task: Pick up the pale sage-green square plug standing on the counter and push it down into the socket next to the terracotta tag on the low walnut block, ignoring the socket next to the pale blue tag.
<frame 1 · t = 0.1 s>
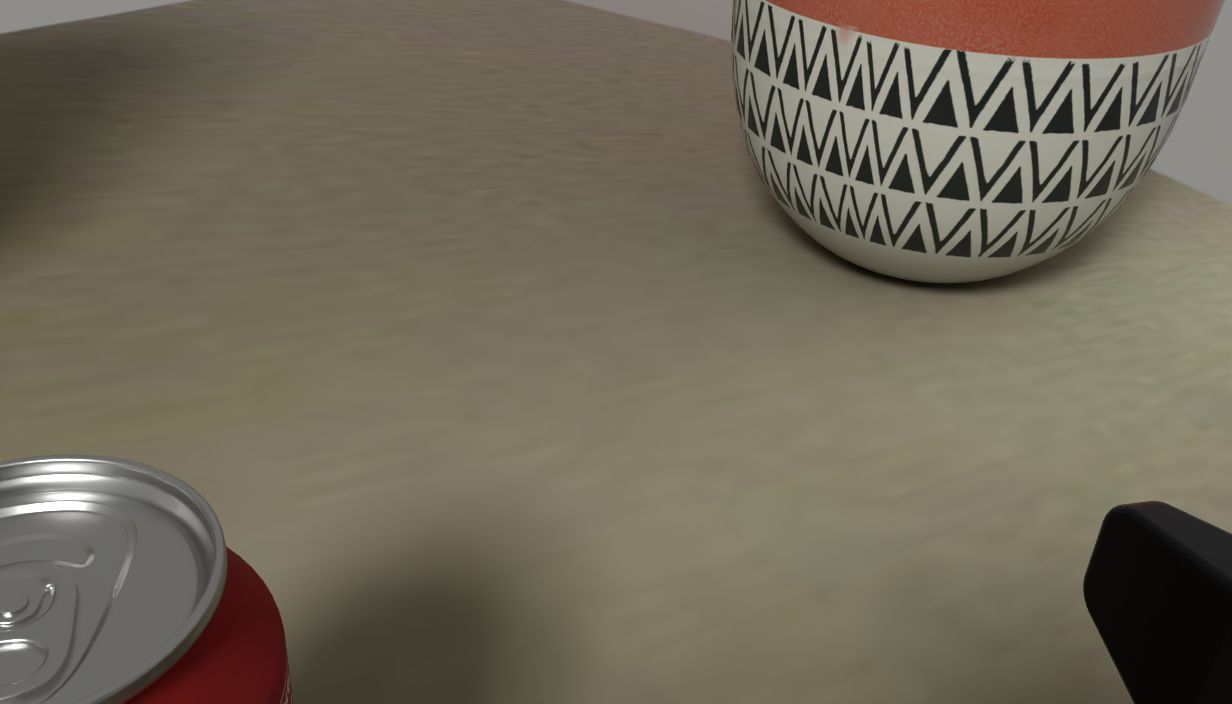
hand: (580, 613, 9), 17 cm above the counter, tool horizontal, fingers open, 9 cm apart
planter: (910, 256, 53), on the counter
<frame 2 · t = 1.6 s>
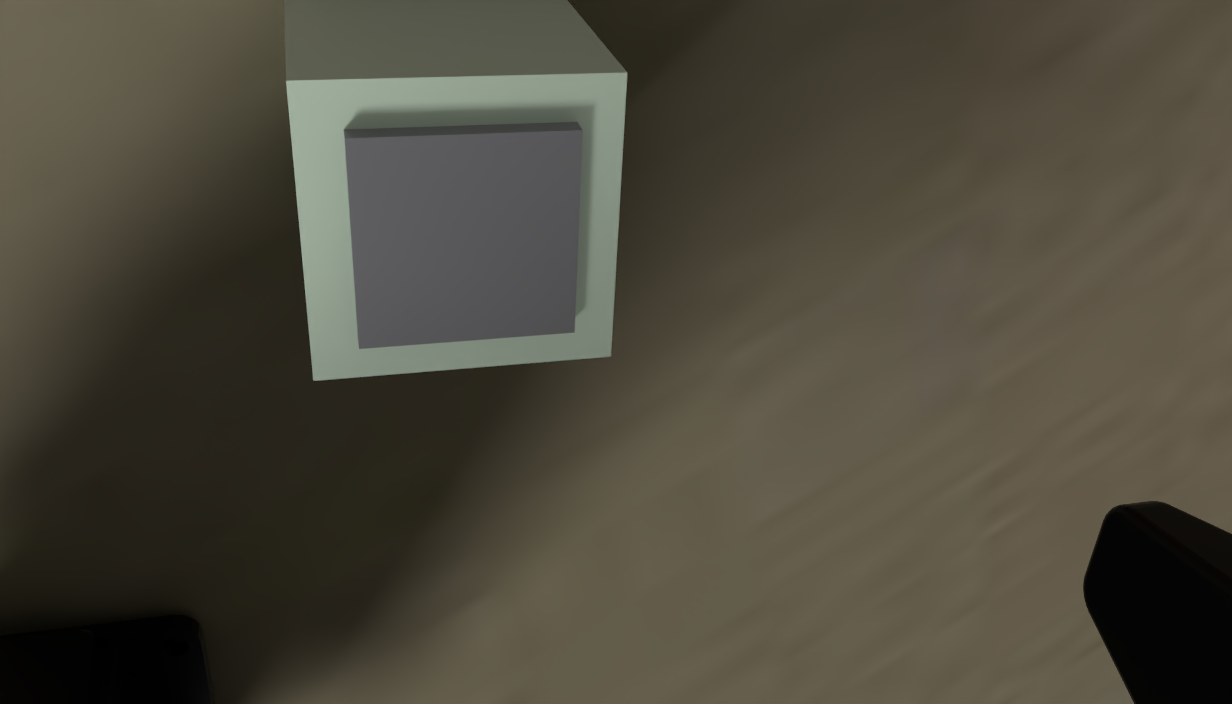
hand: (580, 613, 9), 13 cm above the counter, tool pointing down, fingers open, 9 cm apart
plug: (416, 84, 20), on the counter
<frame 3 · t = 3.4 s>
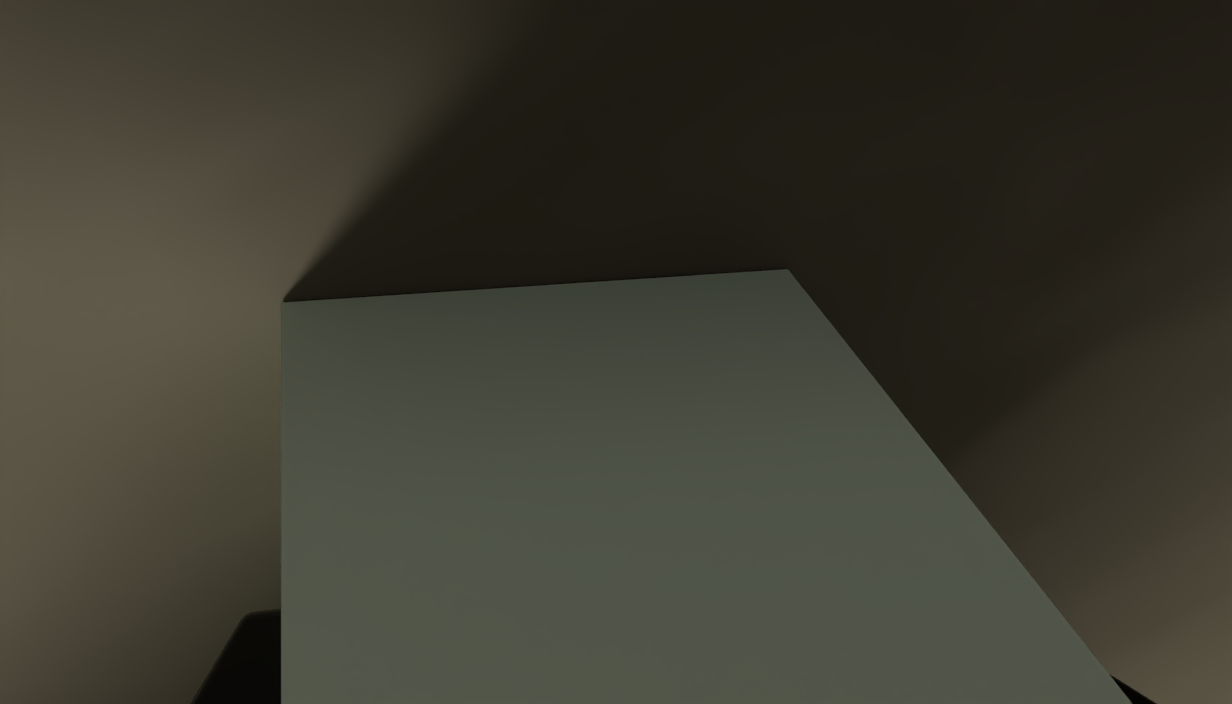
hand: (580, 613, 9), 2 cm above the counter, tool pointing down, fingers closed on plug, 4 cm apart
plug: (542, 490, 10), on the counter, touching gripper
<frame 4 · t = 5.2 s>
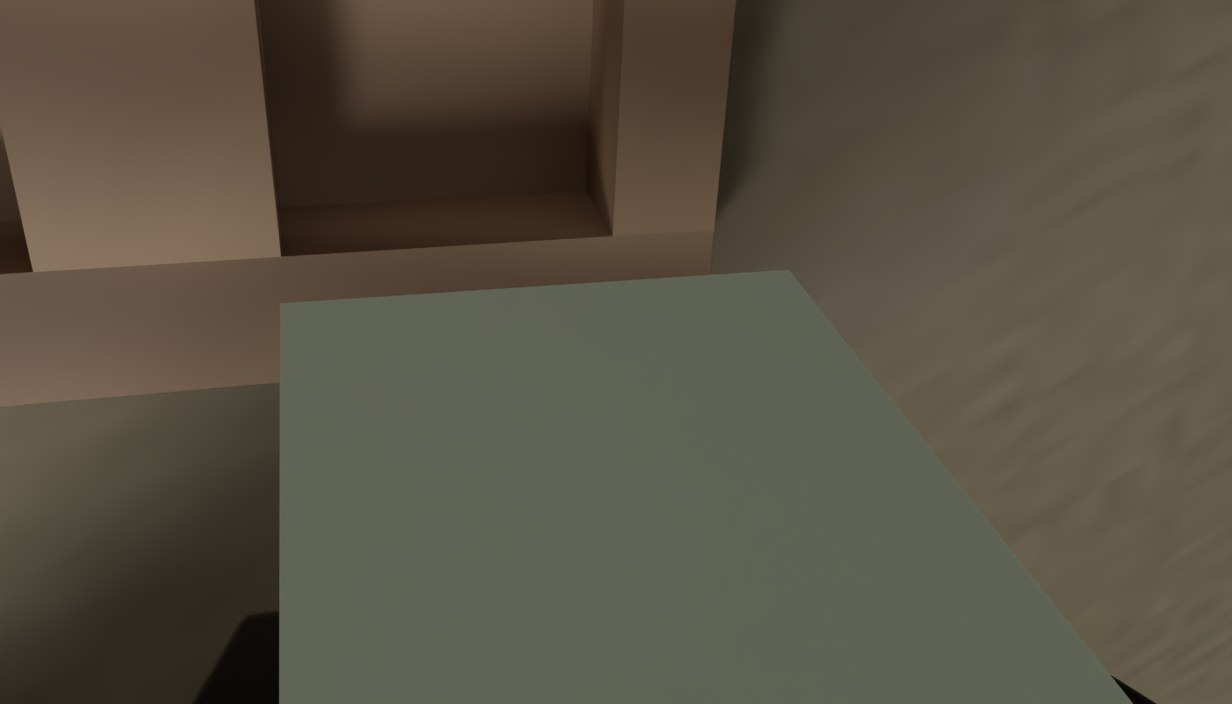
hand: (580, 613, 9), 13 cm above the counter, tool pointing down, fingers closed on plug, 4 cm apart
socket block: (147, 45, 19), on the counter
plug: (542, 491, 10), point 12 cm above the counter, touching gripper
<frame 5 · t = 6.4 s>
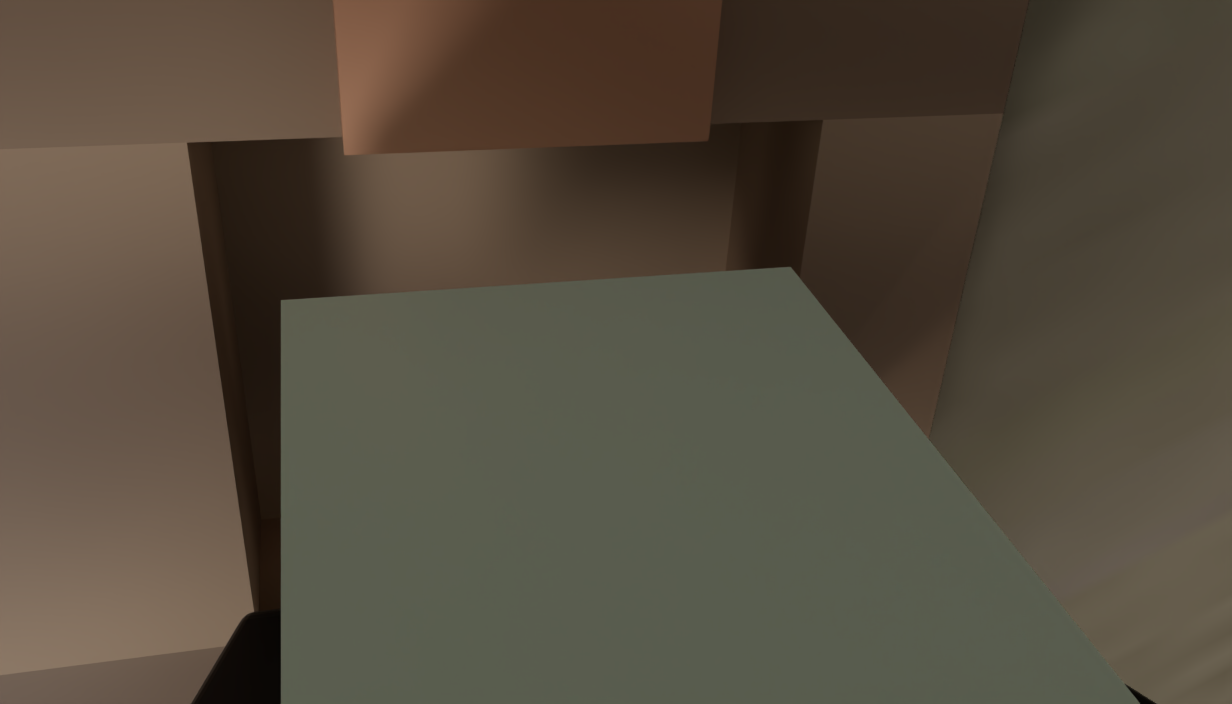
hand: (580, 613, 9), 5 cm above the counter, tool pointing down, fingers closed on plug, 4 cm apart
socket block: (56, 306, 12), on the counter
plug: (543, 488, 10), point 4 cm above the counter, touching gripper
when the fingers open (3 cm above the counter, at t = 7.1 s): plug drops 1 cm, resting on socket block.
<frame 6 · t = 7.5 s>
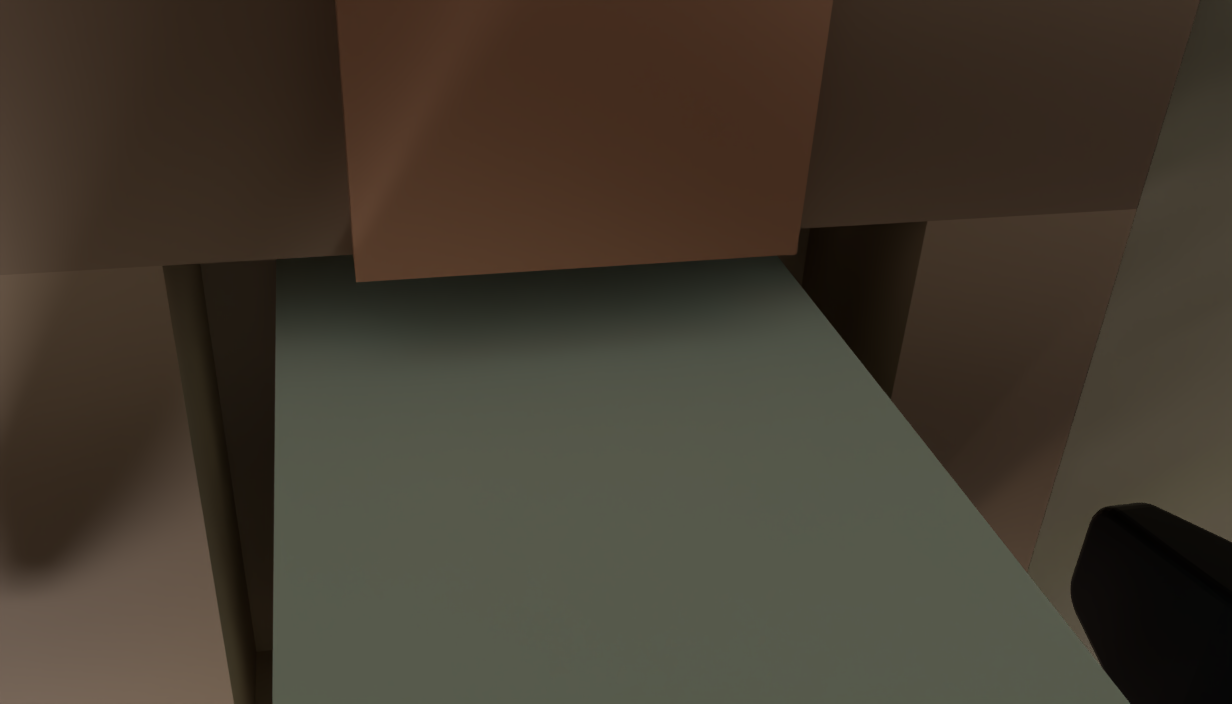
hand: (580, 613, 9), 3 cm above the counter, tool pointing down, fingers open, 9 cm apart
socket block: (18, 421, 11), on the counter
plug: (516, 408, 11), resting on socket block
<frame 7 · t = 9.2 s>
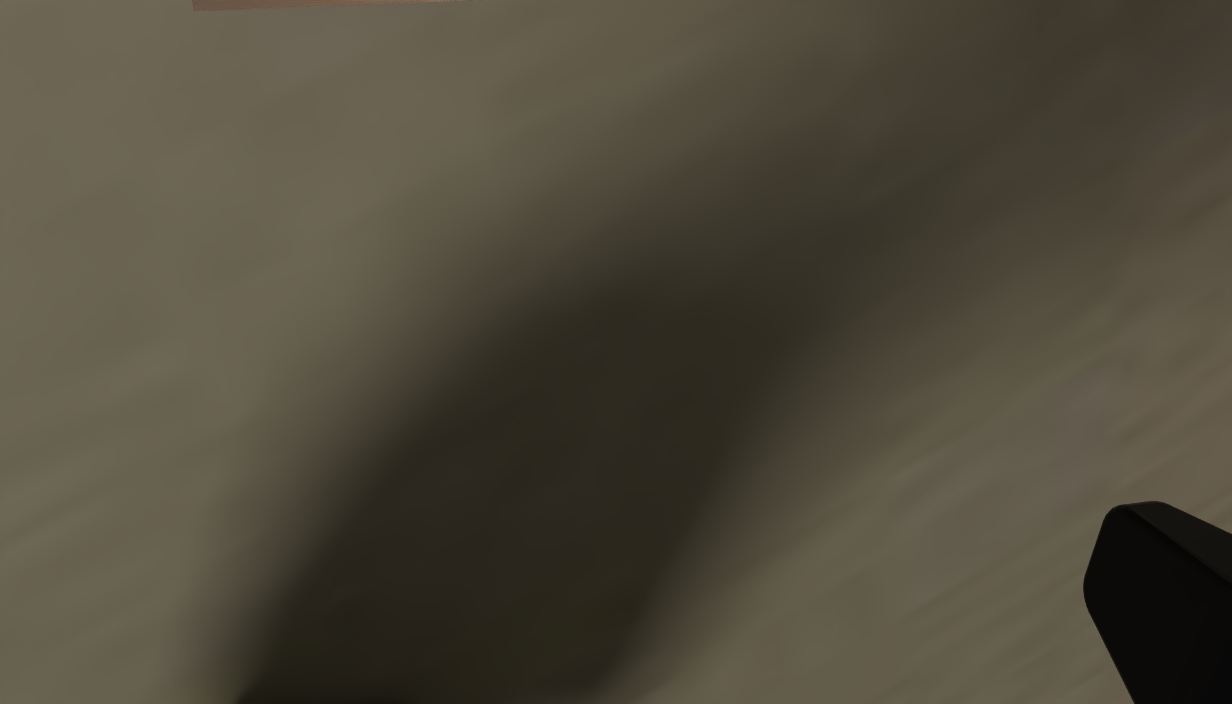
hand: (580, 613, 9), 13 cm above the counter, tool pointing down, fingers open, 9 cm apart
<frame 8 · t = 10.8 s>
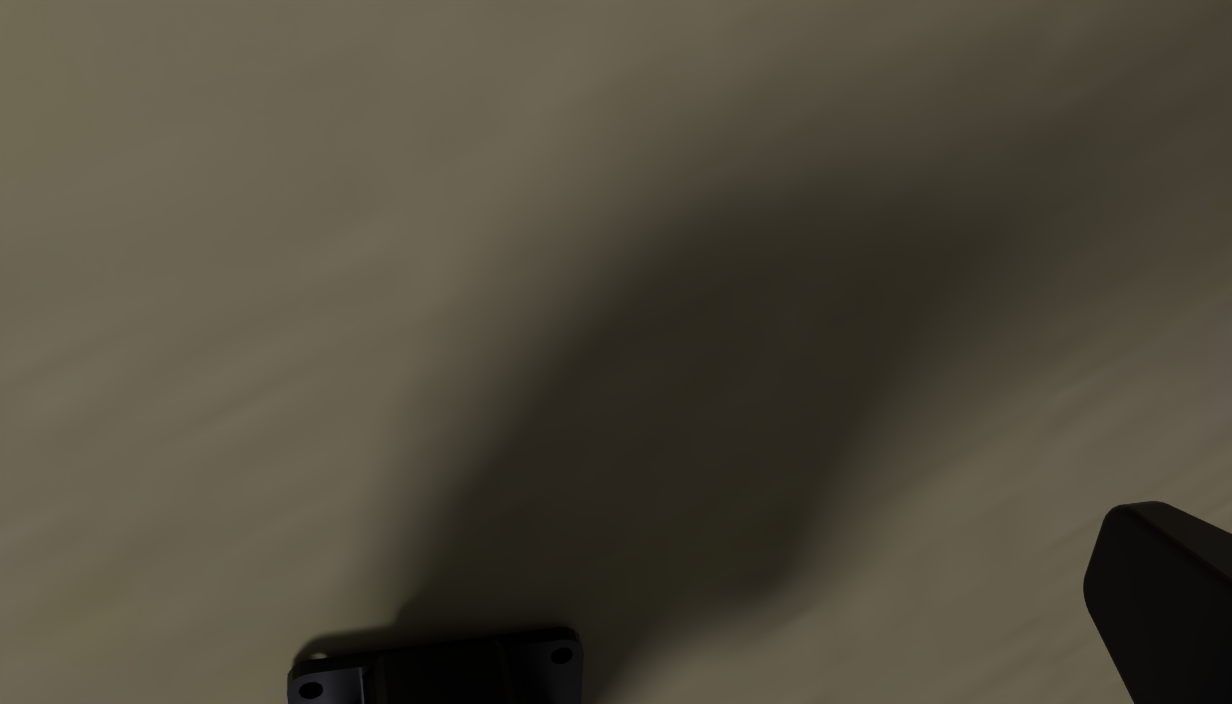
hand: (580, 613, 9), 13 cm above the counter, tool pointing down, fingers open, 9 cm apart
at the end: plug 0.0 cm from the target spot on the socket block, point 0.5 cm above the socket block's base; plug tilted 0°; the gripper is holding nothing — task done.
